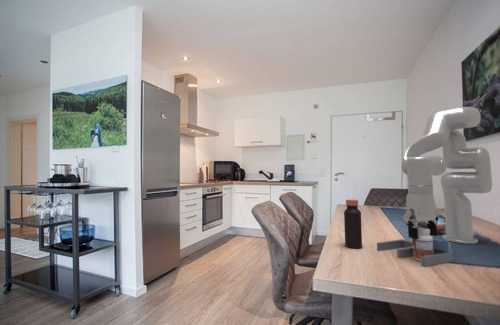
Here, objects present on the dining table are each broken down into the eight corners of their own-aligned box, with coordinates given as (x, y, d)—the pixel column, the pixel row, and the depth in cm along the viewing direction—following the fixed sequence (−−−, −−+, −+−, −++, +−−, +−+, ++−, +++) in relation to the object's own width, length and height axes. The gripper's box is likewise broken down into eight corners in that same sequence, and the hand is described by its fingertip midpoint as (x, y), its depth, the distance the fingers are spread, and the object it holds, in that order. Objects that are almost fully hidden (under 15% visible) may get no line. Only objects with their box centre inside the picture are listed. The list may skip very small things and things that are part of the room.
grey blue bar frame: (402, 246, 104) (402, 228, 105) (453, 261, 86) (452, 239, 86) (377, 250, 99) (376, 231, 100) (425, 266, 81) (424, 244, 81)
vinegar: (365, 249, 101) (363, 200, 102) (348, 249, 101) (347, 201, 102) (358, 244, 108) (356, 199, 109) (342, 244, 108) (341, 199, 109)
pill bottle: (416, 255, 92) (415, 226, 93) (436, 259, 88) (434, 228, 88) (410, 259, 89) (409, 228, 89) (431, 263, 84) (429, 231, 84)
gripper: (426, 188, 96) (429, 231, 95) (393, 190, 90) (396, 237, 89) (447, 189, 89) (450, 236, 88) (413, 192, 83) (416, 242, 82)
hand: (423, 236), depth 89 cm, fingers open, 9 cm apart
